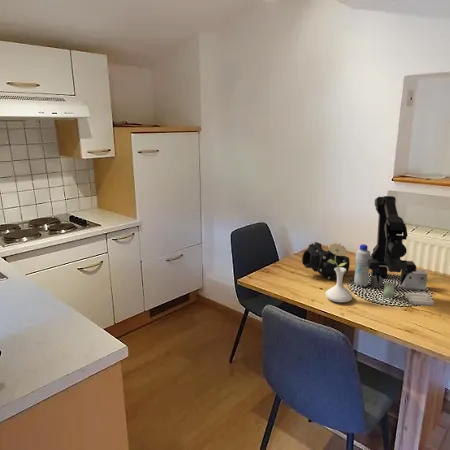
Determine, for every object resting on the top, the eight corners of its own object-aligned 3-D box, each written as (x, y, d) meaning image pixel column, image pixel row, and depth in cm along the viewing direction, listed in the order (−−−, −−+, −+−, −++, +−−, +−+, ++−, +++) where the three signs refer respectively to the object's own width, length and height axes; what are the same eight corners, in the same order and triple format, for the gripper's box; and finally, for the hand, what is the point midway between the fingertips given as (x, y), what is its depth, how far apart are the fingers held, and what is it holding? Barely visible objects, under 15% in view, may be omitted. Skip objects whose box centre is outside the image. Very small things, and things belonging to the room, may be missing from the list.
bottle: (361, 289, 178) (364, 247, 173) (350, 284, 184) (353, 243, 179) (371, 286, 181) (375, 245, 176) (360, 281, 187) (363, 241, 182)
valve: (327, 240, 216) (358, 256, 187) (320, 265, 218) (350, 284, 190) (292, 234, 209) (319, 248, 181) (285, 259, 212) (311, 278, 183)
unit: (402, 289, 177) (404, 273, 175) (399, 284, 182) (401, 268, 180) (427, 291, 175) (429, 274, 173) (423, 286, 180) (425, 269, 178)
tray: (410, 304, 163) (410, 300, 162) (405, 295, 170) (405, 292, 170) (433, 305, 161) (433, 302, 161) (427, 297, 169) (428, 293, 168)
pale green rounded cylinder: (384, 298, 169) (385, 285, 167) (382, 294, 172) (383, 282, 171) (394, 299, 168) (395, 286, 166) (392, 295, 172) (393, 282, 170)
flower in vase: (358, 300, 167) (362, 245, 161) (339, 307, 161) (343, 250, 155) (334, 290, 178) (337, 237, 171) (316, 296, 172) (319, 242, 166)
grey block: (373, 287, 180) (374, 279, 179) (370, 284, 184) (370, 276, 183) (382, 287, 180) (383, 279, 179) (378, 283, 184) (379, 275, 183)
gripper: (372, 254, 159) (369, 290, 163) (421, 257, 155) (417, 293, 159) (368, 246, 169) (365, 279, 173) (414, 248, 166) (410, 282, 170)
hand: (389, 283), depth 169 cm, fingers open, 9 cm apart
